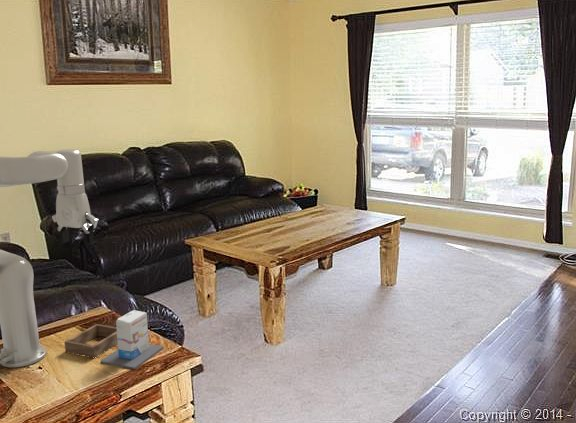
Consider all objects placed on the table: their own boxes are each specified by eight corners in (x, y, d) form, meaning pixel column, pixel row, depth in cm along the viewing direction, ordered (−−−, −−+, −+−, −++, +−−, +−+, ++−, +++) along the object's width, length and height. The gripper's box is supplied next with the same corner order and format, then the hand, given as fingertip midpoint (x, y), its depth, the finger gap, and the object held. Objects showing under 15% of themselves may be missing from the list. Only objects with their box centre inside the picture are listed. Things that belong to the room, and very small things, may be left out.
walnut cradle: (94, 358, 164) (93, 347, 163) (65, 352, 168) (64, 341, 167) (125, 338, 176) (124, 328, 176) (97, 333, 180) (96, 323, 180)
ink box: (132, 360, 161) (129, 322, 158) (118, 357, 162) (114, 320, 160) (150, 347, 168) (147, 311, 166) (136, 345, 170) (133, 309, 168)
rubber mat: (134, 369, 157) (134, 367, 156) (100, 362, 161) (100, 360, 161) (163, 348, 169) (163, 346, 169) (131, 342, 174) (131, 340, 174)
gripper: (40, 190, 171) (47, 244, 174) (85, 193, 164) (90, 249, 168) (59, 186, 177) (64, 238, 181) (102, 189, 171) (107, 242, 175)
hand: (77, 243), depth 174 cm, fingers open, 9 cm apart
